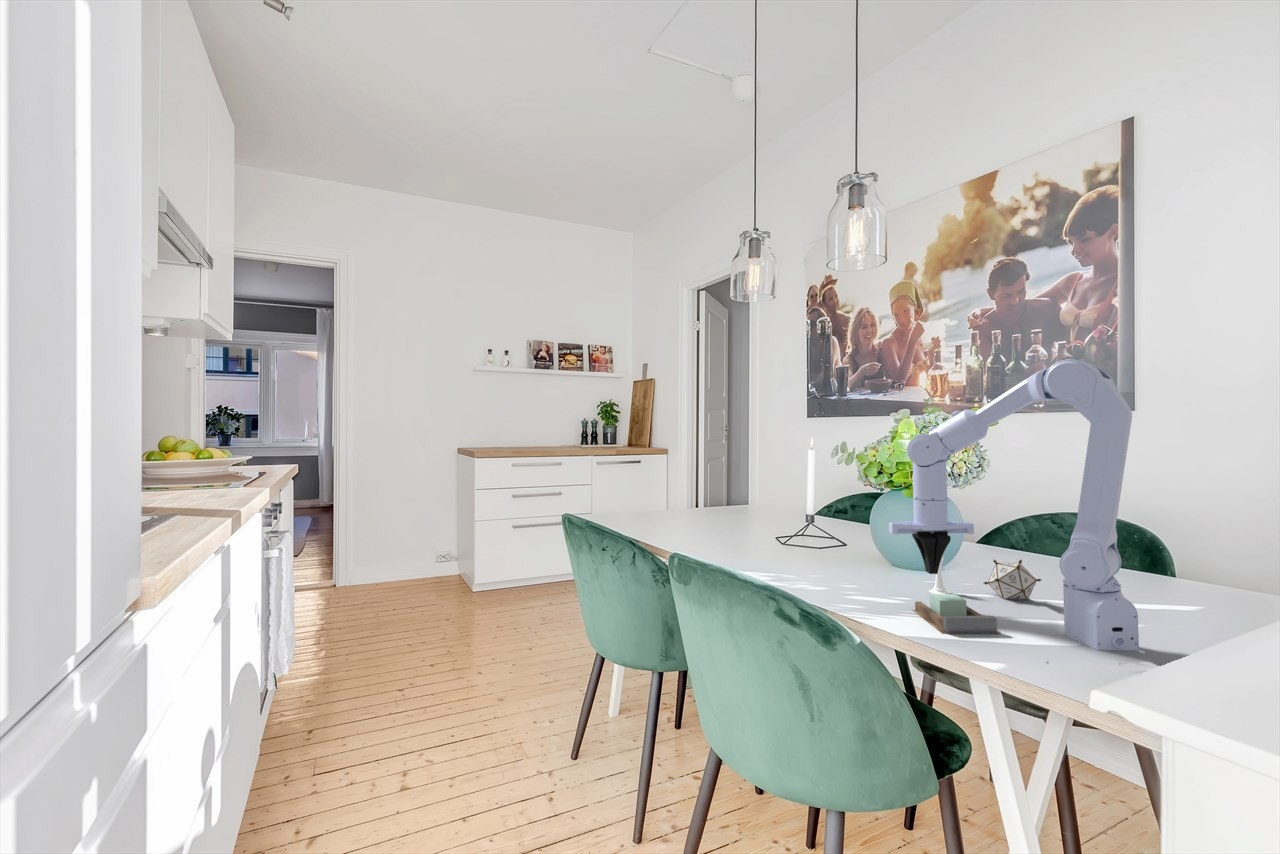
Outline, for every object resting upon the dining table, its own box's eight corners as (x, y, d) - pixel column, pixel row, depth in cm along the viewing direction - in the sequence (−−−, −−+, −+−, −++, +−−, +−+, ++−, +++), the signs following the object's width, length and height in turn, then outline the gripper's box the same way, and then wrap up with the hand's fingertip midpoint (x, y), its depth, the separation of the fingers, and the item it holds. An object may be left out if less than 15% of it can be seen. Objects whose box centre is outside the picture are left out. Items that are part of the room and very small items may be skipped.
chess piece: (938, 600, 119) (937, 550, 119) (920, 594, 124) (919, 545, 124) (959, 598, 120) (957, 548, 120) (940, 592, 125) (939, 543, 125)
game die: (1014, 618, 119) (1033, 574, 121) (1037, 615, 111) (1056, 568, 113) (969, 593, 121) (989, 550, 124) (988, 589, 113) (1008, 543, 116)
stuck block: (966, 621, 103) (966, 600, 103) (940, 621, 103) (939, 600, 104) (956, 613, 107) (955, 594, 107) (930, 613, 107) (930, 594, 108)
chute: (1001, 640, 97) (1000, 618, 97) (942, 639, 97) (942, 618, 97) (963, 615, 110) (962, 595, 110) (912, 615, 110) (911, 596, 110)
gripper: (960, 496, 115) (962, 567, 115) (882, 497, 116) (884, 567, 116) (978, 500, 108) (980, 576, 108) (895, 501, 109) (897, 576, 109)
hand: (931, 572), depth 112 cm, fingers closed
